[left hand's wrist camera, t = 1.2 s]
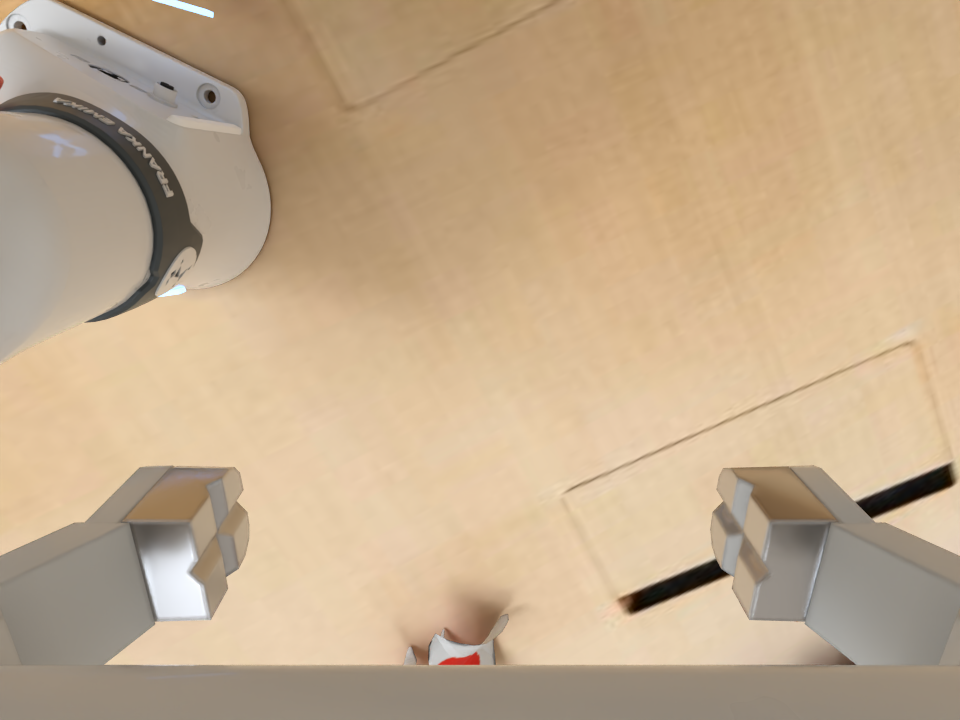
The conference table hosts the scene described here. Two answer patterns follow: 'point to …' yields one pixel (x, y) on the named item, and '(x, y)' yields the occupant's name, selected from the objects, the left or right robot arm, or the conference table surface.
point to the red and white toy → (461, 650)
